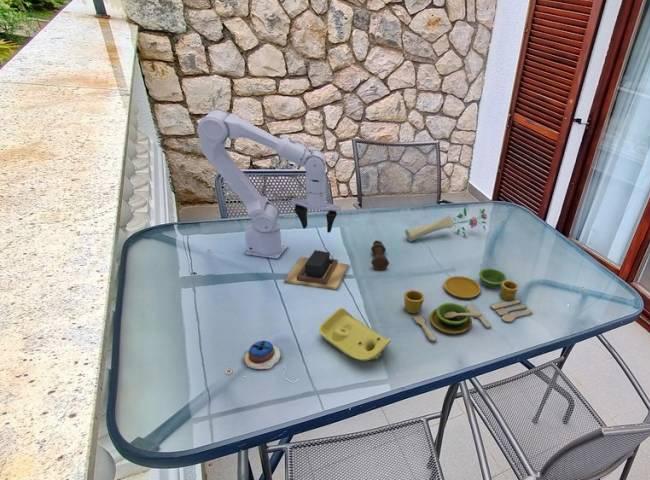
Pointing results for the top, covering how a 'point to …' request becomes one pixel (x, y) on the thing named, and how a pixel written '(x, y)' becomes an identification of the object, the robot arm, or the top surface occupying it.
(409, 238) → the flower vase
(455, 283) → the tableware set
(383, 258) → the brown figurine
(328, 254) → the black rectangular block
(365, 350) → the plastic component
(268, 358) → the dessert
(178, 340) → the top surface
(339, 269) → the mount plate
